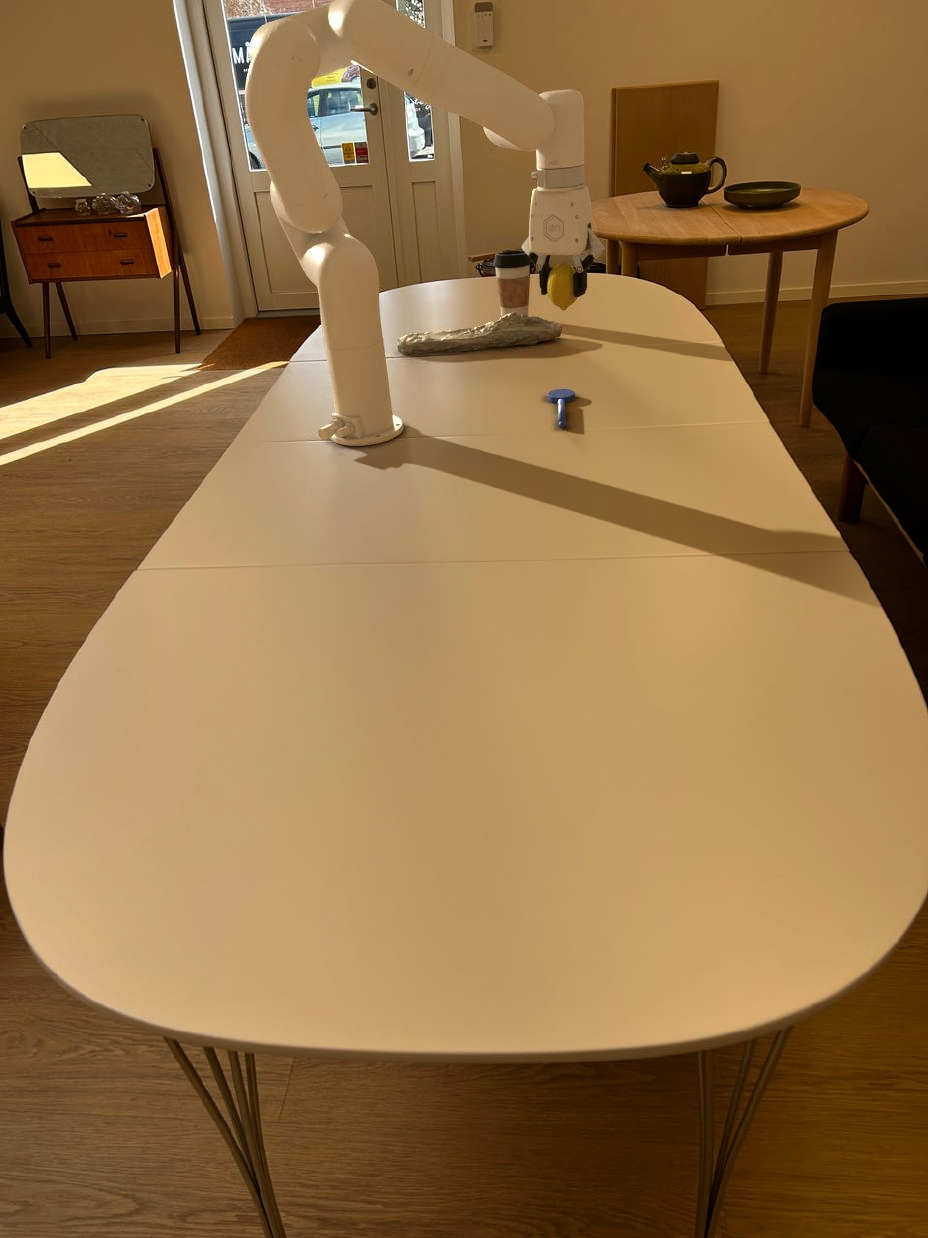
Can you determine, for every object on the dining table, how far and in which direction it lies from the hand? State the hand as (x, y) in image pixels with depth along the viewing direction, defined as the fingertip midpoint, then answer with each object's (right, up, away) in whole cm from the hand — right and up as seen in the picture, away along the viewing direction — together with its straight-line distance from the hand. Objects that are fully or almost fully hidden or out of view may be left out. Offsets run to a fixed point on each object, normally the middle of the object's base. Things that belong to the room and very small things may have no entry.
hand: (563, 292), depth 159 cm
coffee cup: (-5, +12, +53) cm, 55 cm away
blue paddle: (0, -20, +1) cm, 20 cm away
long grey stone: (-14, +2, +39) cm, 41 cm away
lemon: (0, -3, +2) cm, 3 cm away
